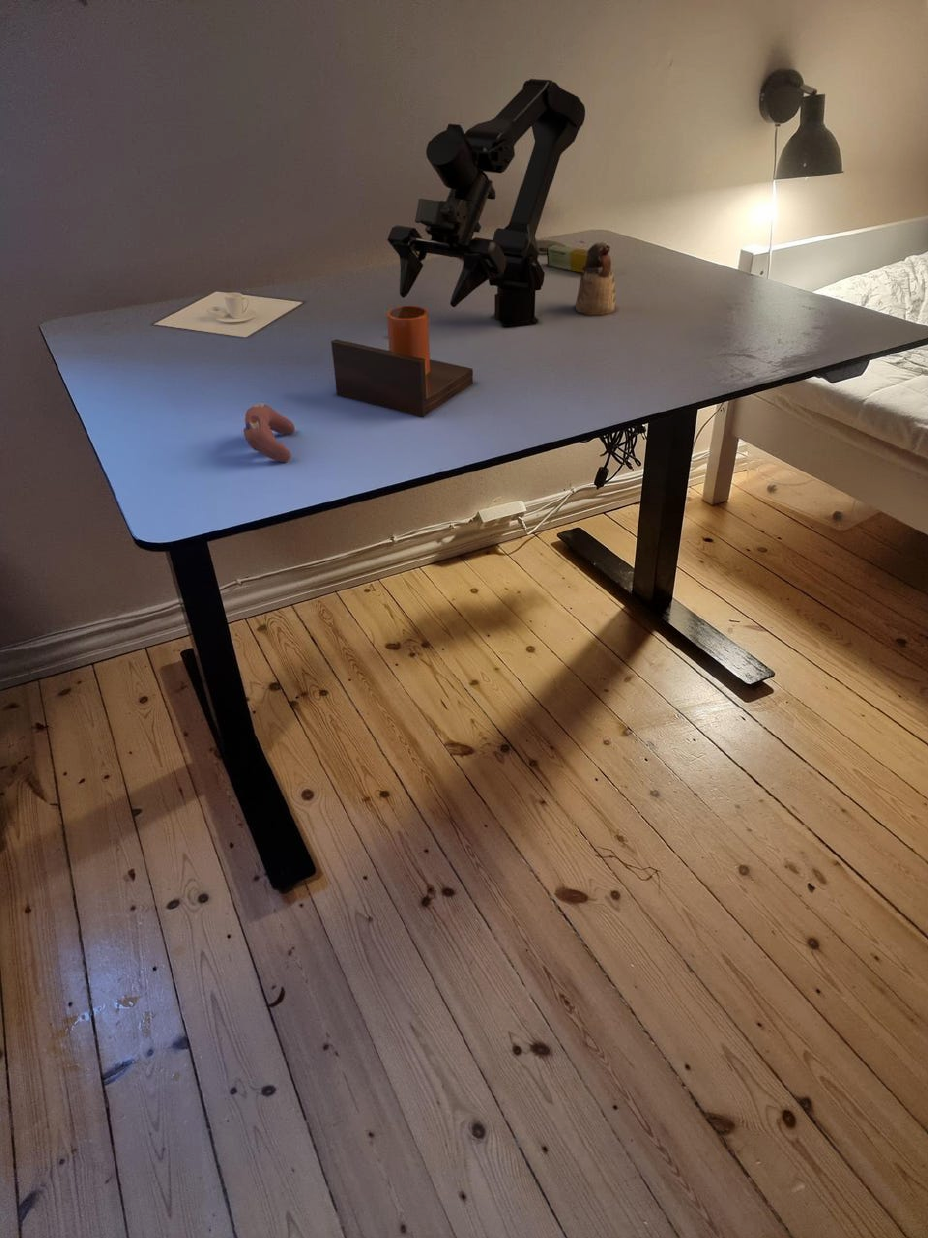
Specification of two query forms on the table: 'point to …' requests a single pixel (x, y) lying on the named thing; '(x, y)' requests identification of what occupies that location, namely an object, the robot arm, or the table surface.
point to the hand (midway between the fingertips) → (426, 300)
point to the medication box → (566, 257)
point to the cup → (409, 332)
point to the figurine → (597, 283)
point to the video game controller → (267, 431)
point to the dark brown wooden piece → (395, 378)
